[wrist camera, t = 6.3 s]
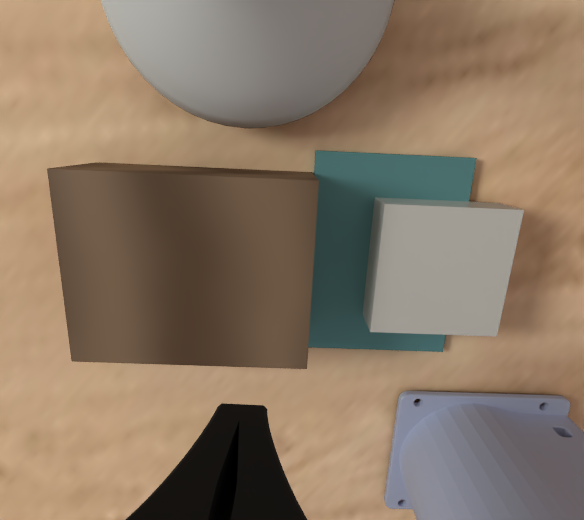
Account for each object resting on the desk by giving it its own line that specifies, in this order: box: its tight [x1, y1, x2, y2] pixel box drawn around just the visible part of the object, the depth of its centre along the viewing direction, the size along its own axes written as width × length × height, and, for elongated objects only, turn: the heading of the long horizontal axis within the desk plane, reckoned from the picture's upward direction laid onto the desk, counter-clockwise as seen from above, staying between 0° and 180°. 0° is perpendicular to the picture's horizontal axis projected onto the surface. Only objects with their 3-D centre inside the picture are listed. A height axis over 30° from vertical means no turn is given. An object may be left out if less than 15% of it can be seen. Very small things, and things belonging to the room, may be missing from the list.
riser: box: [47, 163, 319, 369], centre depth 18 cm, size 10×8×4 cm
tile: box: [363, 197, 524, 336], centre depth 19 cm, size 6×6×2 cm
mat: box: [308, 151, 476, 352], centre depth 20 cm, size 7×10×1 cm
